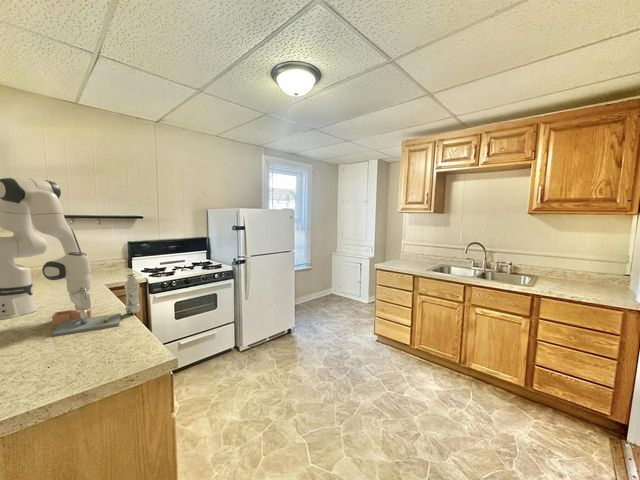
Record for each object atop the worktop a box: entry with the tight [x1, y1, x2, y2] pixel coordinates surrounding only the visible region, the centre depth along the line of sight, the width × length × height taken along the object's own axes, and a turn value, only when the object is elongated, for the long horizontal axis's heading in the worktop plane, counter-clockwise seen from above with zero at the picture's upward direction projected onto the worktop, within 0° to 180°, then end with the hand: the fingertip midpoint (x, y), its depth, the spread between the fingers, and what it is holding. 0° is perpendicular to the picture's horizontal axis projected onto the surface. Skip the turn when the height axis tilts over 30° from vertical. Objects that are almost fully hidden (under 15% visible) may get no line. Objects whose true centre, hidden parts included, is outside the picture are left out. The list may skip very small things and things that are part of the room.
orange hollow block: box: [51, 307, 93, 326], centre depth 130 cm, size 13×7×4 cm, turn 123°
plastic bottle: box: [124, 273, 141, 315], centre depth 140 cm, size 6×7×20 cm
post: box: [80, 310, 109, 325], centre depth 123 cm, size 10×2×6 cm, turn 104°
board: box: [52, 312, 122, 337], centre depth 124 cm, size 22×15×2 cm
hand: (81, 314), depth 131 cm, fingers open, 8 cm apart
